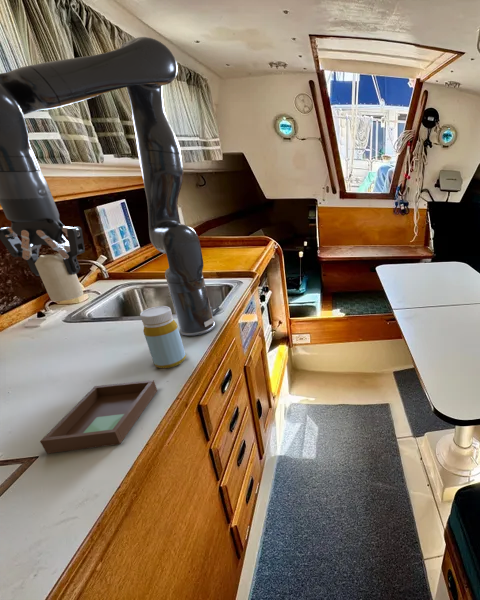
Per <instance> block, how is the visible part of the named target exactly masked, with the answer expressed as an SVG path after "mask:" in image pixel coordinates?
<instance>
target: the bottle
mask: <svg viewBox="0 0 480 600" xmlns="http://www.w3.org/2000/svg"><path fill="white" fill-rule="evenodd" d="M139 317H140V319H141V322H142V325H143V334H144V339H145V340H146V341H145V342H146V343H147V347H148V350H149V353H150V356H151V358H152V362H153V364H154V366H155V367H156V368H159V369H170V368H174V367H177V366H178V365H181V364H182V363H183V362H184V361H185V359H186V357H187V355H186V351H185V347H184V344H183V341H182V340H183V339H182V337H181V332H180V328H179V327H178V326H179V325H178V322H176V321H175V319H174V316H173V312H172V309H171V307H170V306H167V305H157V306H153V307H149V308H146V309H144V310H142V311H141V312H140V314H139Z"/></svg>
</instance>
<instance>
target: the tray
mask: <svg viewBox="0 0 480 600" xmlns="http://www.w3.org/2000/svg"><path fill="white" fill-rule="evenodd" d="M157 393H158V388H157V385H156V383H155V380H154V379H152V380H142V381H132V382H121V383H110V384H101V385H94V386H93V387H92V388H91V389H90V390H89V391H88V392H87V393H86V394H85V395H84V396H83V397H82V399H80V400H79V401H78V403H76V404H75V406H74V407H72V408H71V409H70V410H69V412H67V413H66V414H65V415H64V417H62V419H60V421H58V423H57V424H56V425H54V426H53V428H51V429H50V430H49V432H47V434H46V435H45V436H44V437H43V438H41V440H39V443H40V444H41V446H42V448H43V449H44V452H45V454H55V453H56V454H57V453H62V452H70V451H77V450H85V449H92V448H100V447H107V446H108V447H109V446H115V445H121V443H122V442H123V441H124V440H125V438H126V436H128V434H129V432H130V431H131V429H132V428H133V427H134V425H135V424H136V422H137V421H138V420H139V418H140V416H142V414H143V413H144V411H145V409H147V407H148V405H149V404H150V403H151V401H152V400H153V398H154V397H155V396H156V394H157ZM120 414H124V415H123V417H122V418H121V419H120V420H119V422H118V423H117V424H116V426H115V427H114V428H113V429H112V430H104V431H96V432H88V433H84V431H85V430H86V429H87V428H88V427H89V426H90V424H91V423H92V422H93V421H94V420H95V419H96V418H97V417H103V416H111V415H120Z"/></svg>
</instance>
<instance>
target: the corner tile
mask: <svg viewBox="0 0 480 600" xmlns="http://www.w3.org/2000/svg"><path fill="white" fill-rule="evenodd" d="M123 415H124V414H120V415H111V416H103V417H97V418H96V419H95V420H94V421H93V422H92V423H91V424H90V426H89V427H88V428H87V429H86V430H85V431H84V433H88V432H96V431H104V430H112V429H113V428H114V427H115V426H116V424H117V423H118V422H119V420H120V419H121V418H122V417H123Z"/></svg>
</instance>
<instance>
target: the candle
mask: <svg viewBox="0 0 480 600" xmlns="http://www.w3.org/2000/svg"><path fill="white" fill-rule="evenodd" d="M38 257H39V258H38V260H37V261H36V262H35V265H36V268H37V270H38V272H39V274H40V276H39V277H40V279H41V281H42V283H43V286H44V288H45V290H46V293H47V294H48V297H49V299H50V300H51V301H53V302H63V301H69V300H73V299H77V298H80V297H82V296H83V295H84V291H83V290H84V289H83V288H82V285H81V283H80V280H79V277H78V274H74V275H70V274H69V273H68V271H67V268H66V266H65V263H64V261H63V259H65V258H63V257H62V256H61V255H60V254H59V253H58V252H57V253H55V254H44V255H43V254H41V255H40V254H39V256H38Z"/></svg>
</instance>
